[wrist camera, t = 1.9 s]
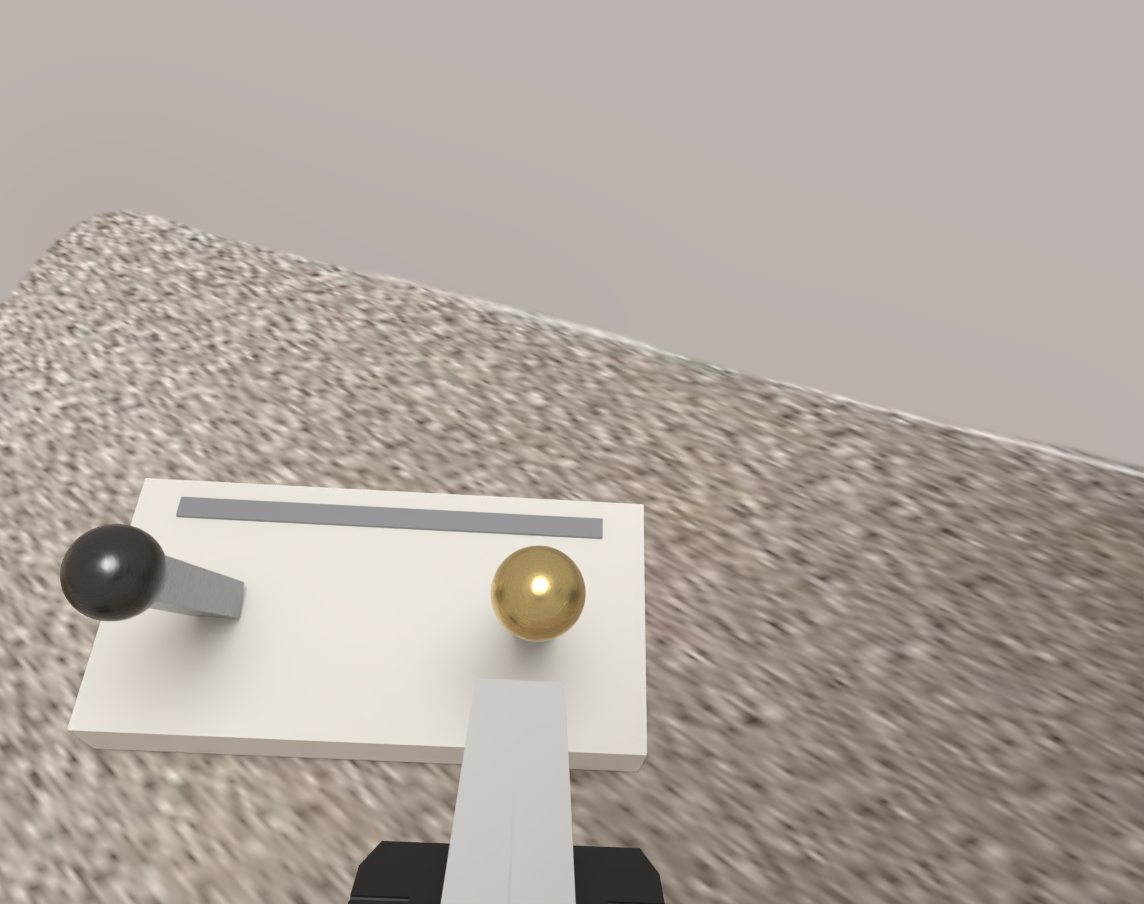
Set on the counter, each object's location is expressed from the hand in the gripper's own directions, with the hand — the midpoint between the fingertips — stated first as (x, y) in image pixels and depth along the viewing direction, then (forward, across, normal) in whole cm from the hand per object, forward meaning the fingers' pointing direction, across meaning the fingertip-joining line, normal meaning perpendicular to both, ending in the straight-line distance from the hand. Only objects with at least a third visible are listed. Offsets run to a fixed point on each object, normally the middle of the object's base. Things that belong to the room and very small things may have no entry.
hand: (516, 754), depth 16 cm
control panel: (+27, -6, -10) cm, 30 cm away
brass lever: (+25, +1, -8) cm, 27 cm away
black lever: (+25, -13, -8) cm, 30 cm away
